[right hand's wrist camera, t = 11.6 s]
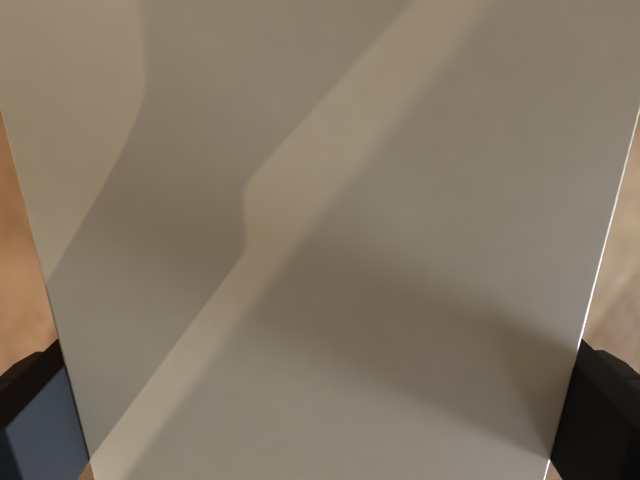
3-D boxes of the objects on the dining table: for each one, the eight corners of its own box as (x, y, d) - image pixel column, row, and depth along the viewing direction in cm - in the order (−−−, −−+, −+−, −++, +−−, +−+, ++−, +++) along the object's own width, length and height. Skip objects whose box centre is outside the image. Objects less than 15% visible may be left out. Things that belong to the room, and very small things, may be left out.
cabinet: (154, -192, 13) (-265, -919, 4) (486, -190, 13) (908, -913, 4) (208, 322, 20) (105, 530, 10) (431, 322, 20) (533, 531, 10)
